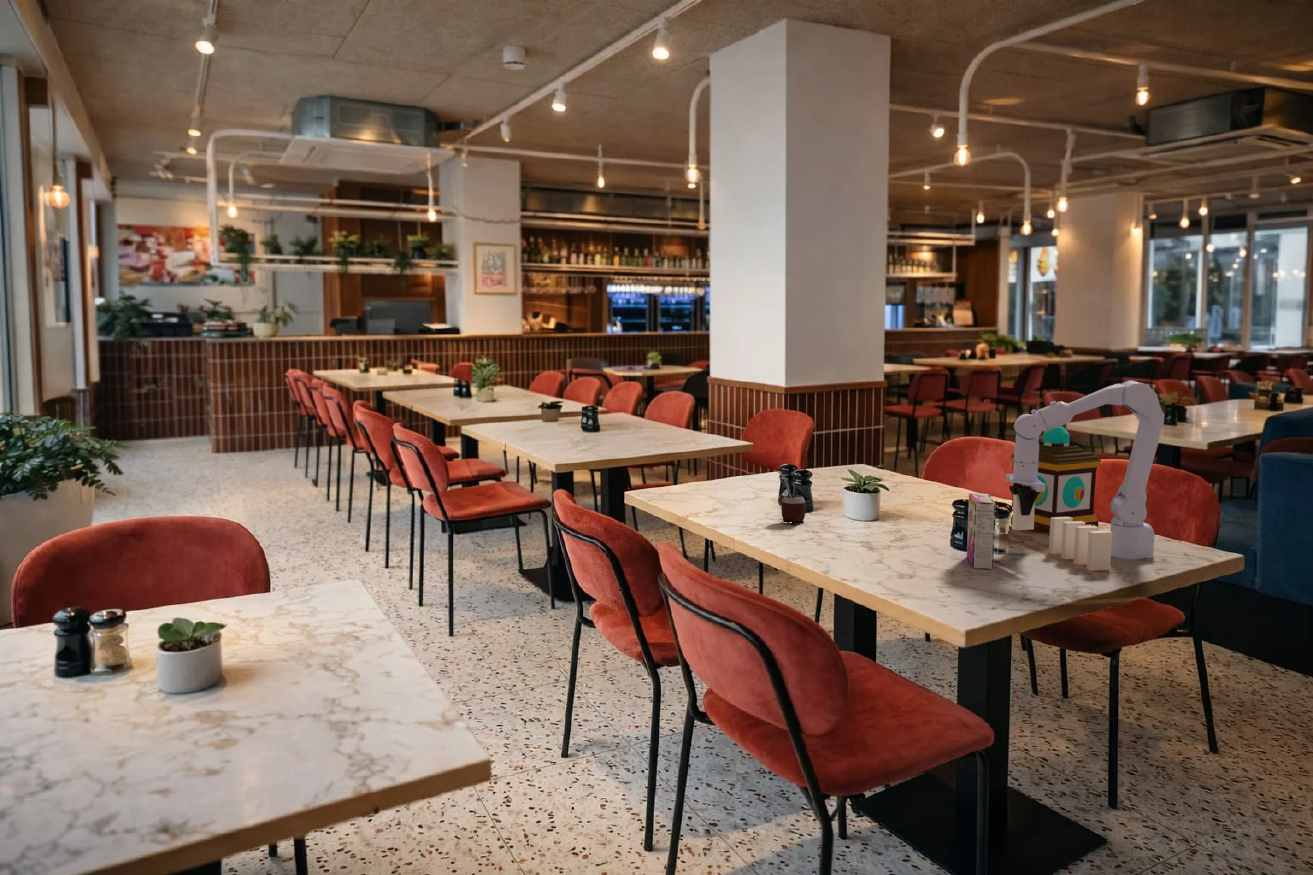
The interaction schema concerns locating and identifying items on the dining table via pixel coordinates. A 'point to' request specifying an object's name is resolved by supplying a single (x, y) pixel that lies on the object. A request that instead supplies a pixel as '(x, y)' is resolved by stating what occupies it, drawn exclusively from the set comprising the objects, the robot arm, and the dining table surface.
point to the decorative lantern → (1064, 480)
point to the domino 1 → (1019, 520)
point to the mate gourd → (792, 507)
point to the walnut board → (1069, 560)
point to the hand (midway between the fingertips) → (1023, 514)
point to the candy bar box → (981, 531)
